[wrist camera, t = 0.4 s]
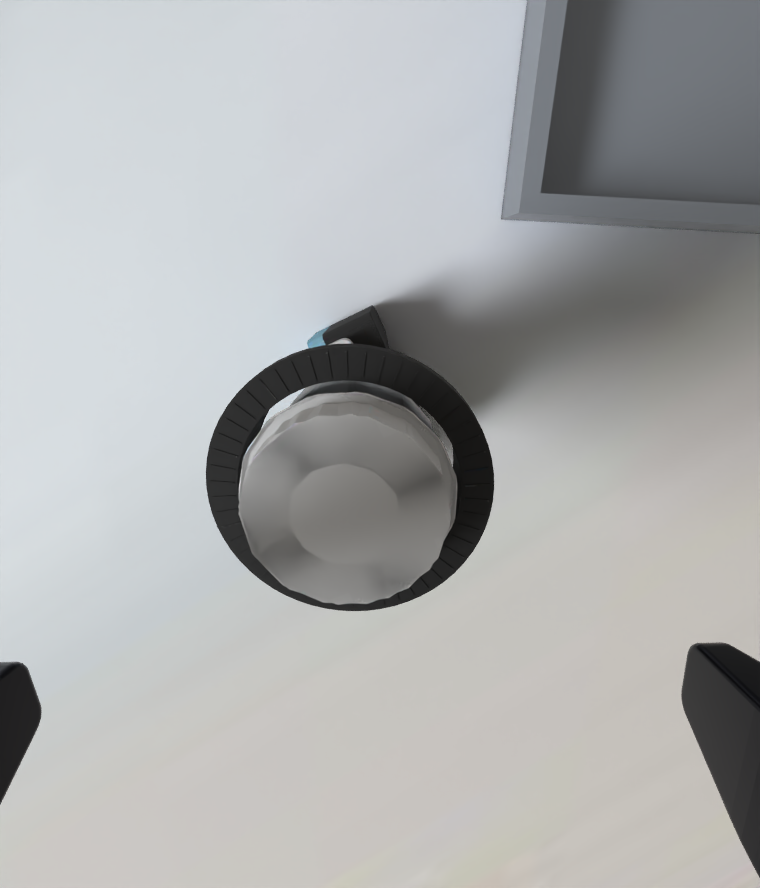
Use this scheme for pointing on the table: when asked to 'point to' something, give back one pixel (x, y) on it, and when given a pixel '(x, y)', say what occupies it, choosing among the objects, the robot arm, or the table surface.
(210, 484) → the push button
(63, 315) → the table surface
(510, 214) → the tray
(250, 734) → the table surface
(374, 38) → the table surface
